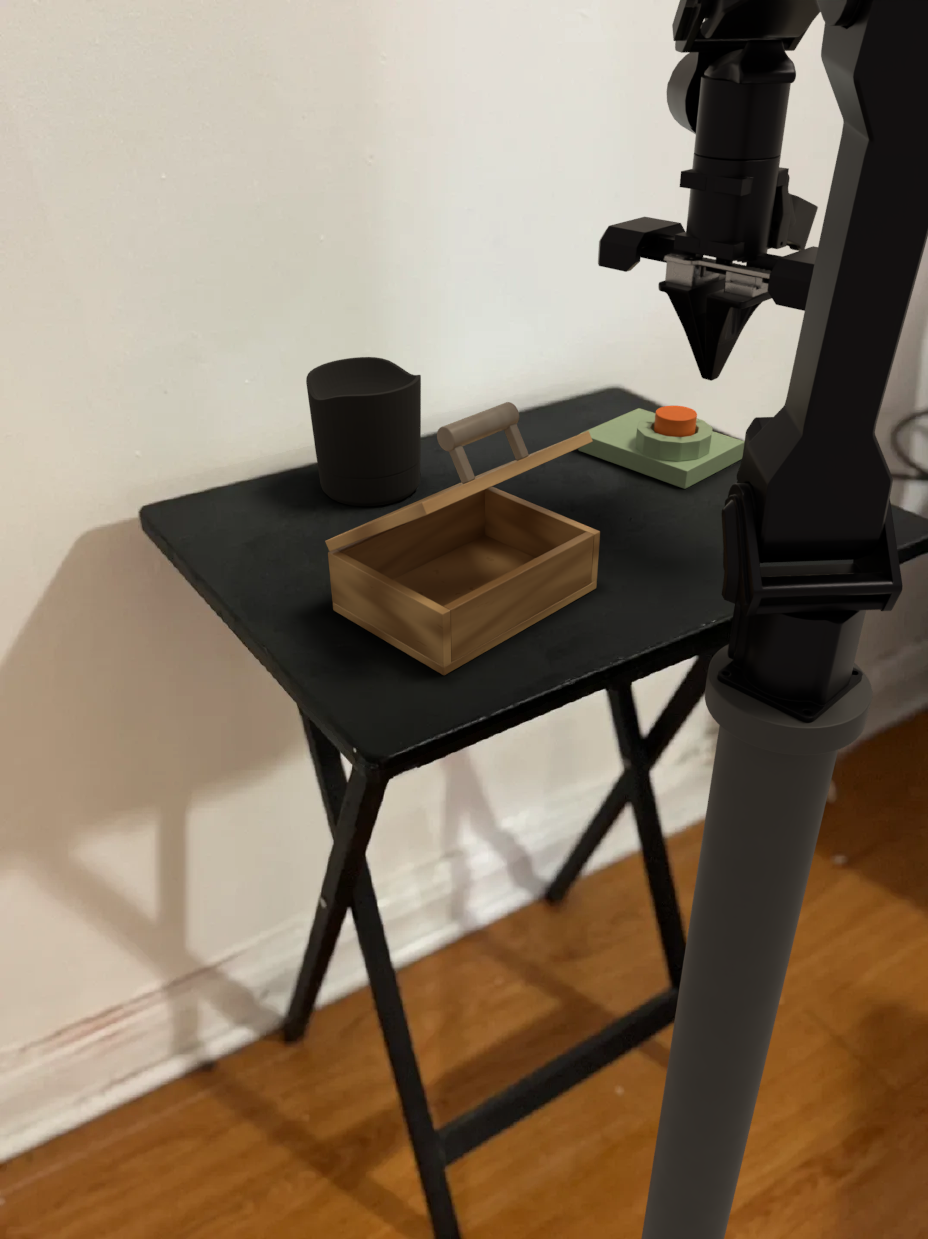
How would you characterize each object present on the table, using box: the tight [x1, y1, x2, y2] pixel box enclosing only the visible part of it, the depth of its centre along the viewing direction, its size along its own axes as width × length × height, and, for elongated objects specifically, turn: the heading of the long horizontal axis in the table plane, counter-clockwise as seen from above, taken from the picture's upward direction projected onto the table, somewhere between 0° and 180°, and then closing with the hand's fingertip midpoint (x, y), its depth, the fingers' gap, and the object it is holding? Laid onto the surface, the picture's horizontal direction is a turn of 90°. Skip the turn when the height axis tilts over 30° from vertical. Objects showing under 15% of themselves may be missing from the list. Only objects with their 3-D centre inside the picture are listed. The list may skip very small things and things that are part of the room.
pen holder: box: [305, 356, 422, 507], centre depth 89 cm, size 9×9×10 cm
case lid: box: [324, 401, 593, 552], centre depth 71 cm, size 12×15×5 cm
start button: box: [654, 405, 698, 437], centre depth 92 cm, size 4×4×2 cm
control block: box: [578, 407, 745, 490], centre depth 95 cm, size 12×9×4 cm
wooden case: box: [327, 486, 601, 676], centre depth 74 cm, size 11×15×5 cm
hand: (710, 378), depth 78 cm, fingers closed
